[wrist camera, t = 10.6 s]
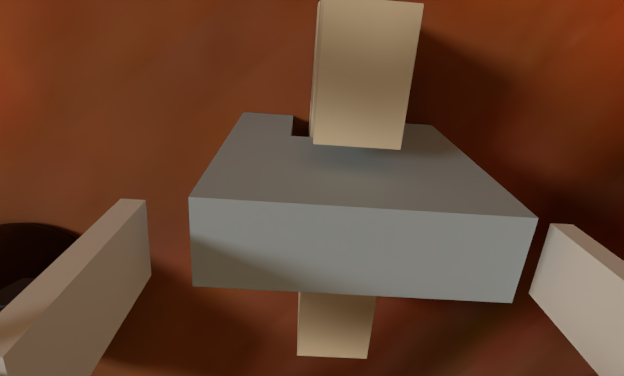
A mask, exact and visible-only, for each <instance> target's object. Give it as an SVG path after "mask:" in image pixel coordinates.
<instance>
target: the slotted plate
mask: <svg viewBox="0 0 624 376" xmlns="http://www.w3.org/2000/svg"><path fill="white" fill-rule="evenodd" d="M292 129H293V115H279V114H264V113H250V112H243V114H242V116H241V117H240V119H239V120H238V122H237V123H236V125H235V126H234V128H233V129H232V131H231V132H230V134H229V135H228V137H227V139H226V140H225V142H224V143H223V145H222V146H221V148H220V149H219V151H218V152H217V154H216V155H215V157H214V158H213V160H212V162H211V163H210V165H209V166H208V168H207V169H206V171H205V172H204V174H203V175H202V177H201V178H200V180H199V181H198V183H197V185H196V186H195V188H194V189H193V191H192V192H191V194H190V195H189V197H188V199H189V221H190V242H191V264H192V286H196V287H215V288H234V289H253V290H272V291H291V292H310V293H330V294H349V295H368V296H387V297H406V298H425V299H444V300H463V301H482V302H502V303H512V301H513V298H514V295H515V292H516V288H517V285H518V282H519V279H520V276H521V273H522V269H523V266H524V263H525V260H526V257H527V254H528V251H529V247H530V244H531V241H532V238H533V235H534V232H535V228H536V225H537V222H538V219H539V218H538V217H537V216H536V215H534V214H533V213H532V212H531V211H530V210H529V209H528V208H526V207H525V206H524V205H523V204H522V203H521V202H519V201H518V200H517V199H516V198H515V197H514V196H513V195H511V194H510V193H509V192H508V191H507V190H506V189H505V188H503V187H502V186H501V185H500V184H499V183H498V182H496V181H495V180H494V179H493V178H492V177H491V176H490V175H488V174H487V173H486V172H485V171H484V170H483V169H482V168H480V167H479V166H478V165H477V164H476V163H475V162H473V161H472V160H471V159H470V158H469V157H468V156H467V155H465V154H464V153H463V152H462V151H461V150H460V149H459V148H457V147H456V146H455V145H454V144H453V143H452V142H450V141H449V140H448V139H447V138H446V137H445V136H444V135H442V134H441V133H440V132H439V131H438V130H437V129H436V128H434V127H433V126H432V125H423V124H409V123H405V125H404V131H403V137H402V143H401V149H400V150H395V149H380V148H365V147H350V146H335V145H320V144H313V137H300V136H292Z"/></svg>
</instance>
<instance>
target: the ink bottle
mask: <svg viewBox="0 0 624 376" xmlns="http://www.w3.org/2000/svg"><path fill="white" fill-rule="evenodd" d="M75 241H76V239H74V238H73V237H71V236H69V235H67V234H65V233H63V232H60V231H58V230H55V229H52V228H49V227H45V226H41V225H36V224H29V223H8V224H1V225H0V290H1V289H3V288H5V287H7V286H8V285H10V284H12V283H14V282H16V281H18V280H20V279H22V278H37V277H38V276H39V275H40V274H41V273H42V272H43V271H44V270H45V269H46V268H48V267H49V266H50V265H51V264H52V263H53V262H54V261H55V260H56V259H57V258H58V257H59V256H60V255H61V254H62V253H64V252H65V251H66V250H67V249H68V248H69V247H70V246H71V245H72V244H73V243H74V242H75Z"/></svg>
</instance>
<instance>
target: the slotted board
mask: <svg viewBox="0 0 624 376" xmlns="http://www.w3.org/2000/svg"><path fill="white" fill-rule="evenodd" d="M423 7H424V4H423V3H411V2H398V1H386V0H320V1H319V3H318V8H317V22H316V36H315V50H314V64H313V78H312V92H311V106H310V120H309V133H308V137H313V144H320V145H335V146H350V147H365V148H380V149H395V150H400V149H401V143H402V137H403V131H404V125H405V118H406V112H407V106H408V100H409V94H410V88H411V81H412V75H413V69H414V63H415V57H416V51H417V44H418V38H419V32H420V26H421V20H422V14H423ZM376 298H377V296H368V295H349V294H330V293H310V292H299V302H298V338H297V355H299V356H320V357H342V358H363V359H367V353H368V347H369V341H370V335H371V328H372V322H373V316H374V310H375V304H376Z"/></svg>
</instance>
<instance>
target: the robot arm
mask: <svg viewBox="0 0 624 376" xmlns="http://www.w3.org/2000/svg"><path fill="white" fill-rule="evenodd" d="M150 277H151V262H150V250H149V237H148V224H147V212H146V200H135V199H120V200H119V201H118V202H117V203H116V204H115V205H114V206H112V207H111V208H110V209H109V210H108V211H107V212H106V213H105V214H104V215H103V216H102V217H101V218H100V219H99V220H98V221H96V222H95V223H94V224H93V225H92V226H91V227H90V228H89V229H88V230H87V231H86V232H85V233H84V234H83V235H82V236H81V237H79V238H78V239H77V240H76V241H75V242H74V243H73V244H72V245H71V246H70V247H69V248H68V249H67V250H66V251H65V252H64V253H62V254H61V255H60V256H59V257H58V258H57V259H56V260H55V261H54V262H53V263H52V264H51V265H50V266H49V267H48V268H46V269H45V270H44V271H43V272H42V273H41V274H40V275H39V276H38V277H37V278H22V279H20V280H18V281H16V282H14V283H12V284H10V285H8V286H7V287H5V288H3V289H1V290H0V376H90V375H91V373H92V372H93V370H94V369H95V367H96V365H97V364H98V362H99V360H100V359H101V357H102V355H103V354H104V352H105V350H106V349H107V347H108V346H109V344H110V342H111V341H112V339H113V337H114V336H115V334H116V332H117V331H118V329H119V328H120V326H121V324H122V323H123V321H124V319H125V318H126V316H127V314H128V313H129V311H130V310H131V308H132V306H133V305H134V303H135V301H136V300H137V298H138V296H139V295H140V293H141V291H142V290H143V288H144V287H145V285H146V283H147V282H148V280H149V278H150ZM529 294H530V296H531V297H532V298H533V299H534V300H535V301H536V303H537V304H538V305H539V306H540V307H541V308H542V310H543V311H544V312H545V313H546V314H547V315H548V317H549V318H550V319H551V320H552V321H553V322H554V324H555V325H556V326H557V327H558V328H559V329H560V331H561V332H562V333H563V334H564V335H565V336H566V338H567V339H568V340H569V341H570V342H571V343H572V345H573V346H574V347H575V348H576V349H577V350H578V352H579V353H580V354H581V355H582V356H583V358H584V359H585V360H586V361H587V362H588V363H589V365H590V366H591V367H592V368H593V369H594V370H595V372H596V373H597V374H598V375H599V376H624V261H623V260H621V259H620V258H619V257H617V256H616V255H615V254H613V253H612V252H610V251H609V250H608V249H606V248H605V247H603V246H602V245H601V244H599V243H598V242H597V241H595V240H594V239H592V238H591V237H590V236H588V235H587V234H585V233H584V232H583V231H581V230H580V229H579V228H577V227H576V226H574V225H573V224H555V223H551V224H550V227H549V230H548V233H547V236H546V240H545V243H544V246H543V249H542V252H541V256H540V259H539V262H538V265H537V269H536V272H535V275H534V278H533V281H532V285H531V288H530V291H529Z"/></svg>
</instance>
